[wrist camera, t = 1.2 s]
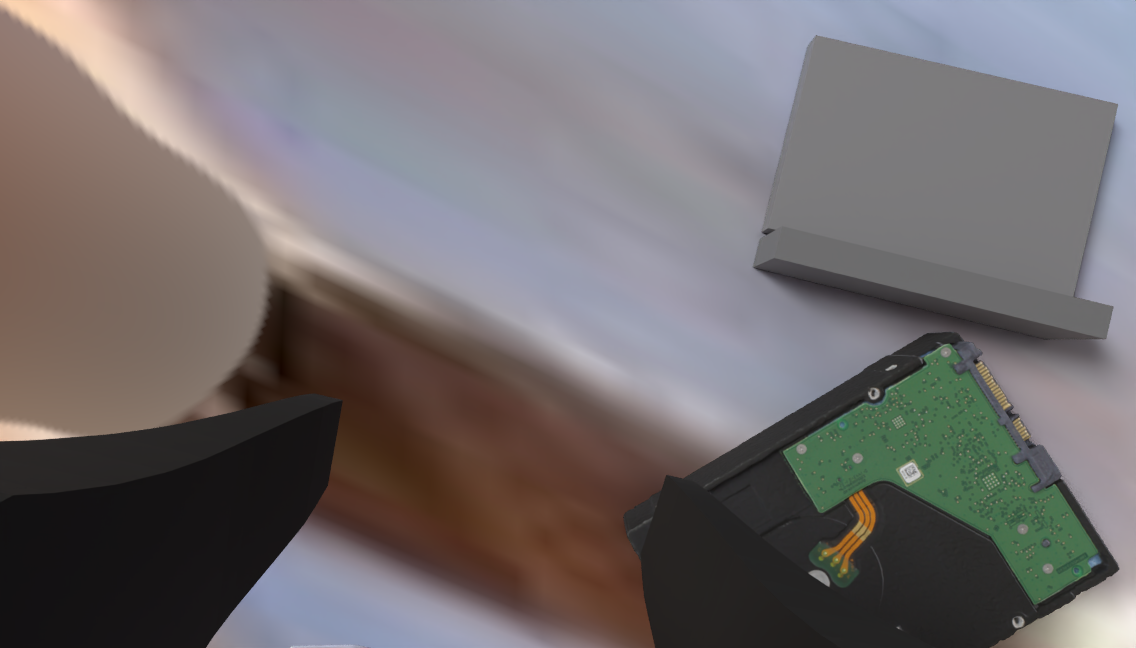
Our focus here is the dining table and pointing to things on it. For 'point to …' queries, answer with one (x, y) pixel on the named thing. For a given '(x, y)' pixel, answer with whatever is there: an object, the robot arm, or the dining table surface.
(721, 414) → the dining table surface
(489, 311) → the dining table surface
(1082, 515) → the disk drive
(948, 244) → the grey flat panel
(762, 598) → the robot arm
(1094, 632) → the dining table surface
